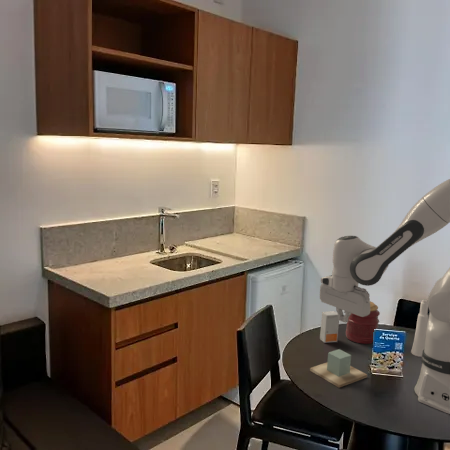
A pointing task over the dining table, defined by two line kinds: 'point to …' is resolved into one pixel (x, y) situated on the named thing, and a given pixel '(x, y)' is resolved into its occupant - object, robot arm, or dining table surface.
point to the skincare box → (329, 326)
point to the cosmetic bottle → (420, 330)
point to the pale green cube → (339, 362)
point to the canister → (363, 326)
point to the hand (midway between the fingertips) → (343, 321)
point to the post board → (334, 379)
